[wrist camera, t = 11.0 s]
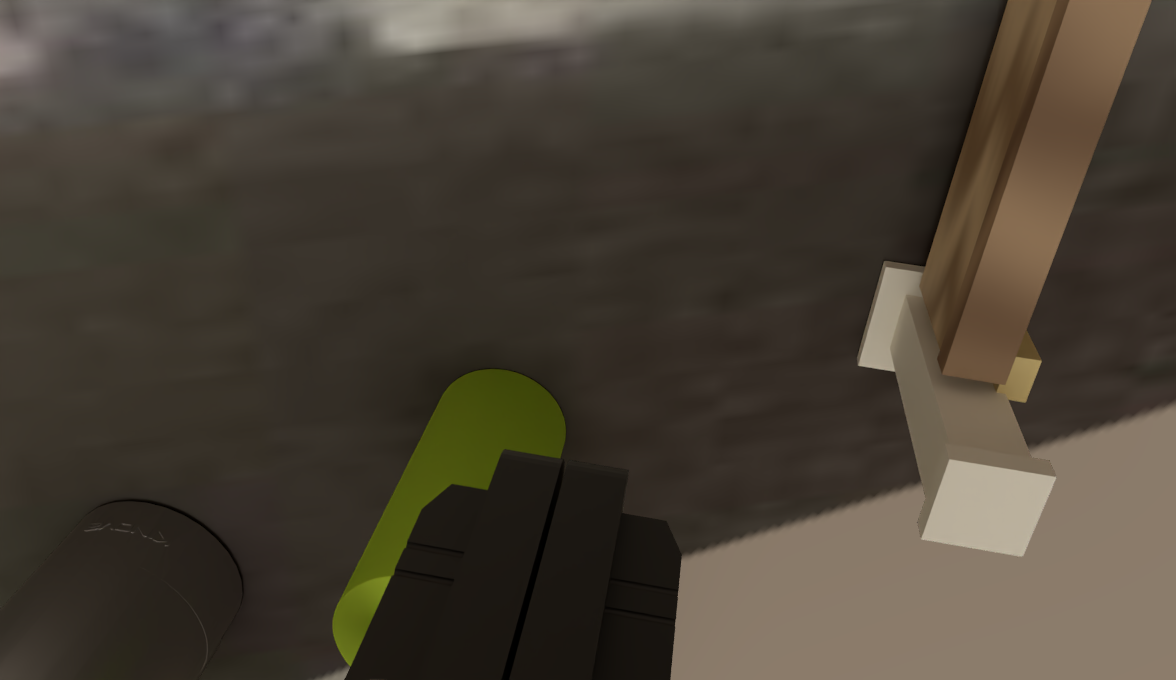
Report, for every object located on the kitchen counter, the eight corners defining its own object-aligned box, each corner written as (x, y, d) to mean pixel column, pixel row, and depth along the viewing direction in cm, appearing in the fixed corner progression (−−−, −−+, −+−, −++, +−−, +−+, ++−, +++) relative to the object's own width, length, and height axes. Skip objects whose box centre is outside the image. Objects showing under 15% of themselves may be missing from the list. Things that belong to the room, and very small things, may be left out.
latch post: (966, 375, 40) (1038, 578, 30) (856, 358, 41) (891, 552, 30) (1003, 268, 38) (1095, 449, 28) (886, 251, 38) (935, 423, 28)
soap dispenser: (459, 331, 43) (260, 707, 25) (591, 417, 44) (487, 832, 27) (394, 419, 46) (176, 813, 28) (521, 499, 47) (385, 922, 29)
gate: (967, 294, 38) (1005, 385, 32) (913, 285, 38) (941, 374, 32) (1123, -166, 30) (1209, -152, 24) (1055, -175, 30) (1124, -163, 24)
